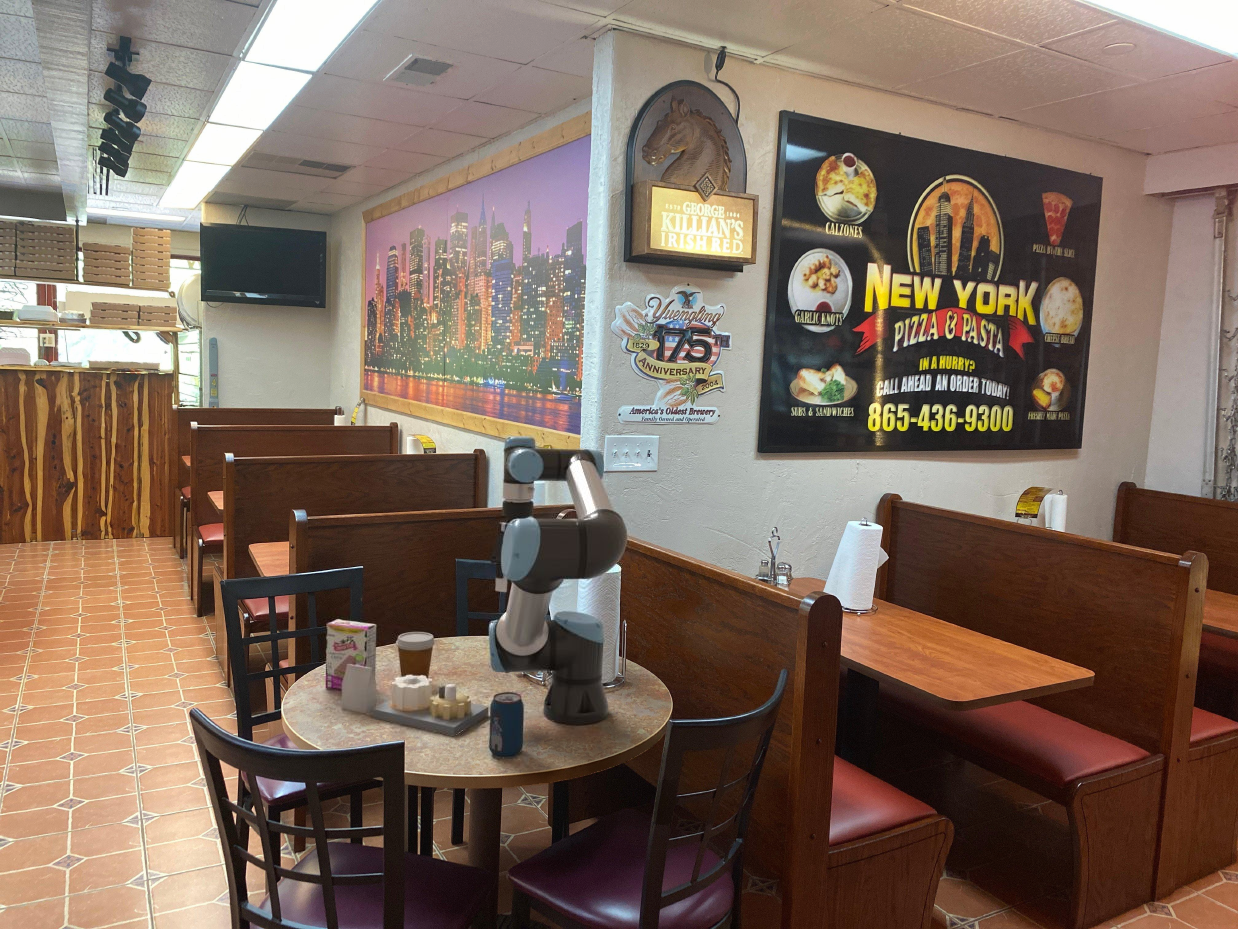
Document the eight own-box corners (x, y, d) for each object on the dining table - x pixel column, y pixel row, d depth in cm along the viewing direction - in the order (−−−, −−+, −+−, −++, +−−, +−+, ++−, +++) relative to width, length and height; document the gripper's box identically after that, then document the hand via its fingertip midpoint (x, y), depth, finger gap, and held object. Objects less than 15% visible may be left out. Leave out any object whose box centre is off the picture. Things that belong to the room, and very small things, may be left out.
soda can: (523, 746, 186) (525, 691, 185) (521, 760, 179) (523, 703, 178) (490, 745, 186) (492, 690, 185) (486, 759, 179) (488, 702, 178)
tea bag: (366, 713, 201) (367, 670, 200) (341, 708, 203) (342, 666, 202) (376, 708, 204) (376, 666, 203) (351, 703, 206) (352, 661, 206)
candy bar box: (324, 689, 215) (325, 623, 213) (335, 683, 219) (336, 618, 218) (365, 695, 212) (366, 628, 210) (376, 688, 217) (377, 623, 215)
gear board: (488, 715, 203) (489, 681, 202) (454, 736, 190) (454, 700, 189) (409, 698, 211) (410, 665, 211) (371, 717, 199) (372, 682, 198)
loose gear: (407, 693, 208) (407, 672, 208) (439, 699, 205) (439, 678, 205) (383, 705, 200) (383, 683, 200) (415, 712, 197) (416, 690, 196)
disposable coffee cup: (424, 691, 216) (425, 644, 215) (388, 687, 218) (389, 640, 217) (440, 679, 225) (441, 633, 224) (405, 675, 227) (406, 629, 226)
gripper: (505, 507, 201) (502, 598, 203) (555, 496, 224) (552, 578, 226) (477, 504, 204) (474, 593, 206) (529, 493, 227) (526, 574, 229)
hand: (515, 585), depth 216 cm, fingers open, 13 cm apart
